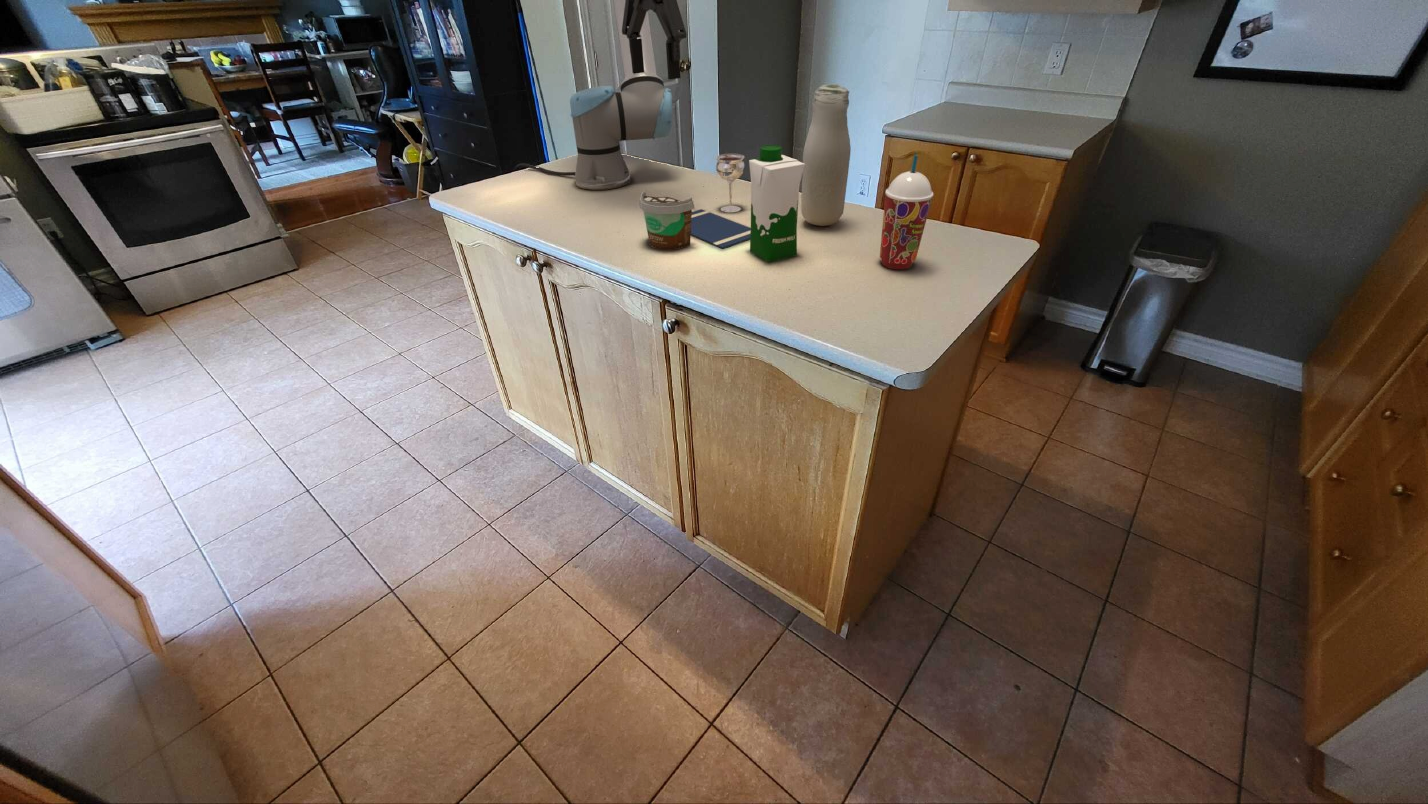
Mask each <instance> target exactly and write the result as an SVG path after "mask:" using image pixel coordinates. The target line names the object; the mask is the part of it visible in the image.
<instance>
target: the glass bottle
mask: <svg viewBox="0 0 1428 804" xmlns="http://www.w3.org/2000/svg"><path fill="white" fill-rule="evenodd" d="M813 92H814V94H813V99H812V104H811V105H812V115H811V116H812V117H811V123H810V125H809V129H808V132H807V136H806V139H805V143H804V147H803V152H802V163H804V164H805V166H804V170H803V174H802V177H801V181H802V182H801V195H800V196H801V197H800V198H801V202H800V208H801V211H800V212H801V216H802V217H803V219H804V220H805V221H806V222H807V223H808V224H810V225H813V226H814V225H815V226H819V227H827V226H831V225H834V224H836V223H837V222H838V221H839V220H840V218H842V216H843V215H844V210H845V202H846V194H847V186H848V179H849V178H848V177H849V169H850V161H851V151H852V150H851V147H852V146H851V138H850V134H849V131H850V130H849V126H848V108H849V107H850V105H849V104H850V100H849V96H850V95H849V94H850V91H849V90H848V89H847V88H846V87H844V86H842V85H838V84H823V85H821V86H819V87H818V88H817V89H815V91H813Z"/></svg>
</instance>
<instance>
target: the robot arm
mask: <svg viewBox="0 0 1428 804" xmlns="http://www.w3.org/2000/svg"><path fill="white" fill-rule="evenodd" d="M612 4H613V10H614V15H615V22H616V23H615V24H616V30H617V35H618V43H619V50H620V55H621V62H622V68H623V75H624V76H623V77H624V80H623V81H622V82H621V84H620V86H619V87H620V91H615V89H614V87H613V86H611V85H601V86H593V87H589V88H585V89H582V90H579V91H577V92H575V93H574V94H572V95H571V96H570V98H569V99H570V100H569V106H570V117H571V118H572V119H571V120H572V125H573V131H574V132H573V133H574V139H575V145H576V151H577V159H576V167H575V171H555V170H551V169H546V168H544V167H542V166H536V165H533V164H530V163H524V162H523V163H518V164H516V166H515V167H514V169H513V170H514V171H516V170H517V171H518V170H519V169H520V168H522V167H523V168H529V169H532V170H536V171H541V172H542V173H545V174H548V175H549V174H550V175H555V176H562V177H563V176H564V177H565V176H566V177H569V176H572V177H573V176H574V180H575V185H576V187H577V188H579V189H583V190H589V191H606V190H612V189H618V188H621V187H625V186H626V185H628V184H629V183H630V182H631V174H630V171H629V167H628V165H627V163H626V161H625V158H624V156H623V154H622V151H621V144H620V142H623V141H624V142H625V141H637V140H649V139H652V140H655V139H660V138H665V137H667V136H669V134H670V133H671V130H672V121H673V95H672V90H671V89H670V88H668V87H666V88H665V83H664V80H663V79H662V78H661V77H660V76H659V75H657V68H656V60H655V55H654V54H655V53H654V46H653V41H652V34H651V26H650V20H649V11H650V10H651V11H652V12H653V13H655V15H656V17H657V19H658V22H660V25H661V27H662V30H663V32H664V34H665V36H666V38H667V39H666V40H665V50H666V51H665V52H666V53H665V54H666V66H667V80H669V81H670V80H677V79H681V78H682V77H681V42H682V40H684V39H686V38H687V31H686V27H685V24H684V20H683V17H682V14H681V10H680V7H679V4H678V0H612ZM536 167H539V168H536Z"/></svg>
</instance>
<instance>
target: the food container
mask: <svg viewBox="0 0 1428 804" xmlns="http://www.w3.org/2000/svg"><path fill="white" fill-rule="evenodd" d="M638 206H639V209H640V210H641V211H643V216H644V222H645V227H646V232H647V233H646V234H647V238H648V243H649V245H650V246H651V247H652V248H653V249H657V250H661V251H662V250H663V251H674V250H680V249H683V248H686V247H688V246H690V245H691V237H692V236H691V216H692V212H693V210H694V209H695V202H694V200H693V197H689V198H688V199H685V200H680V199H676V198H673V197H670V196H651V195H647V192H646V190H644V191H642V193H641V194H640V197H639V205H638Z"/></svg>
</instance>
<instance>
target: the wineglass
mask: <svg viewBox="0 0 1428 804" xmlns="http://www.w3.org/2000/svg"><path fill="white" fill-rule="evenodd" d="M715 158H716V161H717V162H716V166H715V169H716V173H717V175H719V176H720V178H721V179H723V180H725V181H726V182H727V183H728V190H729V191H728V193H729V205H725V206H722V207H721V208H720V211H721V212H724V213H737V212H739V211H741V210H742V208H741V207H740V206H737V205H732V203H733V202H732V201H733V199H732V198H733V183H734V182H735V181H736V180H738V179H739V178H741V176H742V175H743V174H744V172H745V167H746V165H745V162H744V160H745V155H743V154H739V153H723V154H719V155H717V156H716V157H715Z"/></svg>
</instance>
